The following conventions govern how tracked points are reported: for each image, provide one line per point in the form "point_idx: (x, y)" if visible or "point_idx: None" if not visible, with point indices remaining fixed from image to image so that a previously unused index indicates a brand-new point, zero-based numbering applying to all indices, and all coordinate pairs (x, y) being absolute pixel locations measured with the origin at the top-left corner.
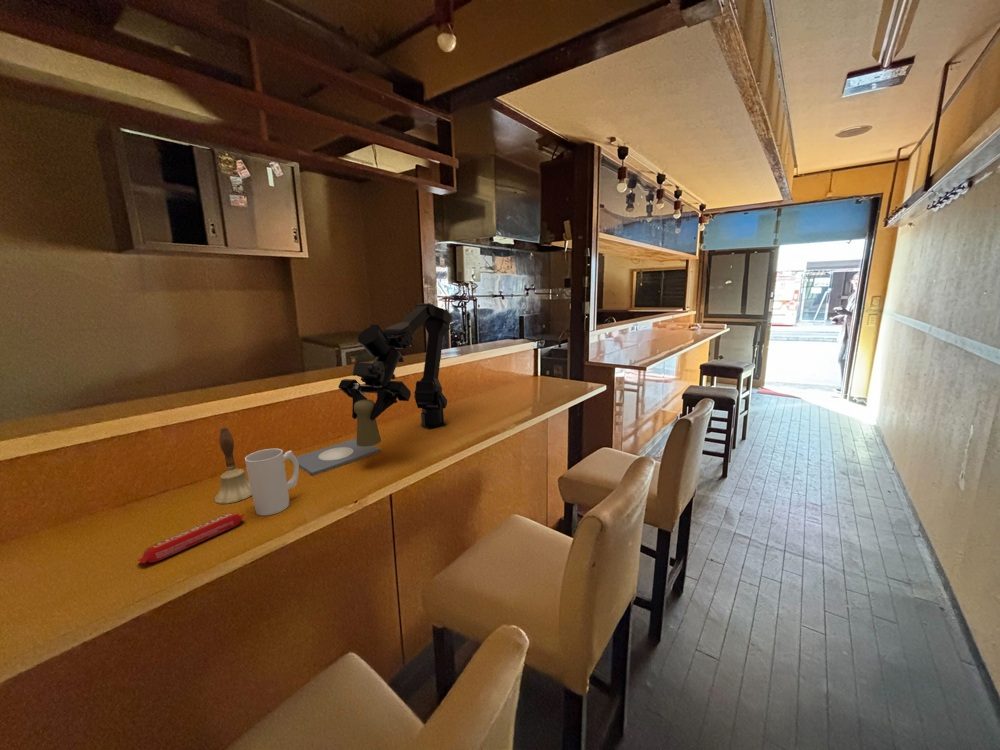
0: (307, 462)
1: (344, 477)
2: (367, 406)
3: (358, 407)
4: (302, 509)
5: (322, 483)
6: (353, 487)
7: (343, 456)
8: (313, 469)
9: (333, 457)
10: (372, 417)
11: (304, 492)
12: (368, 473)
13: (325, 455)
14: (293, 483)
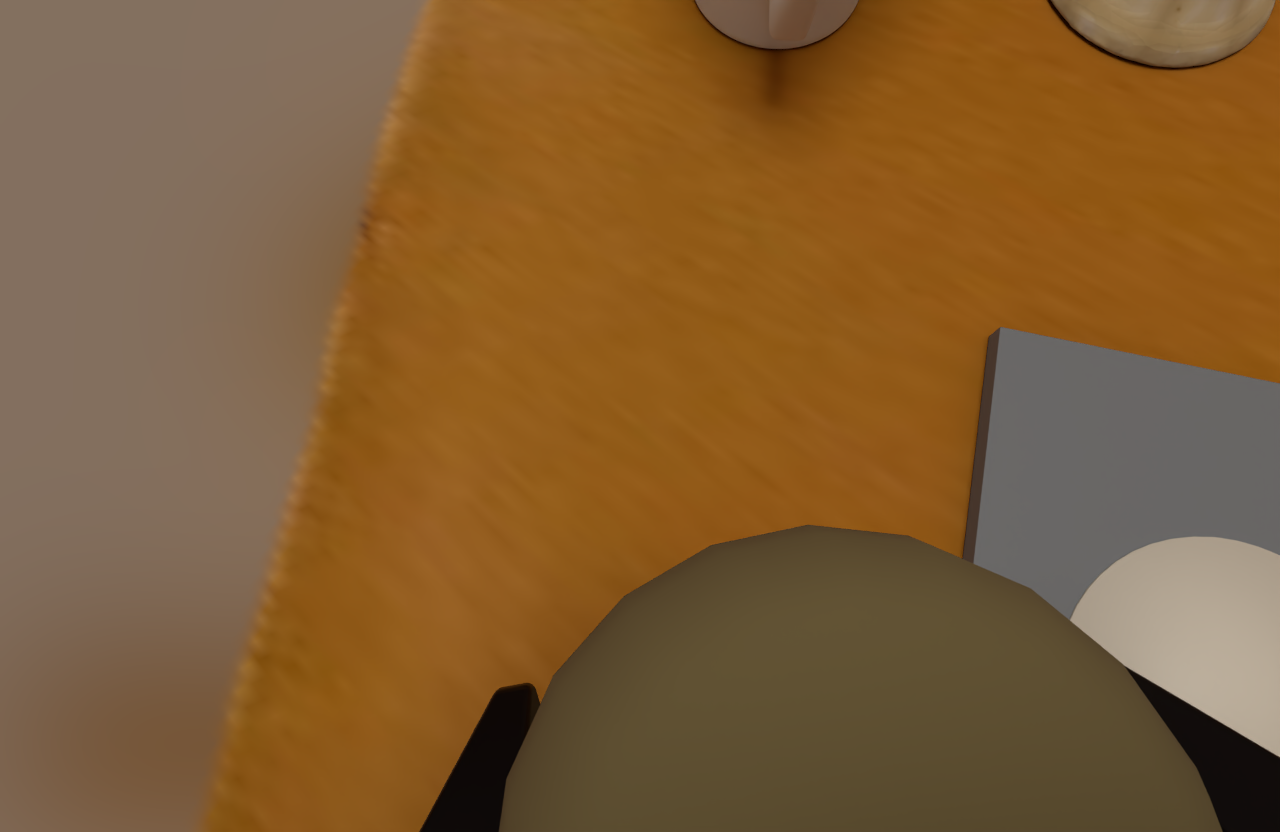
0: (1253, 438)
1: (731, 423)
2: (536, 731)
3: (764, 543)
4: (599, 38)
5: (797, 288)
6: (530, 341)
7: None
8: (1053, 368)
9: (1151, 619)
10: (486, 727)
11: (787, 158)
12: (606, 560)
13: (1273, 619)
14: (772, 5)
